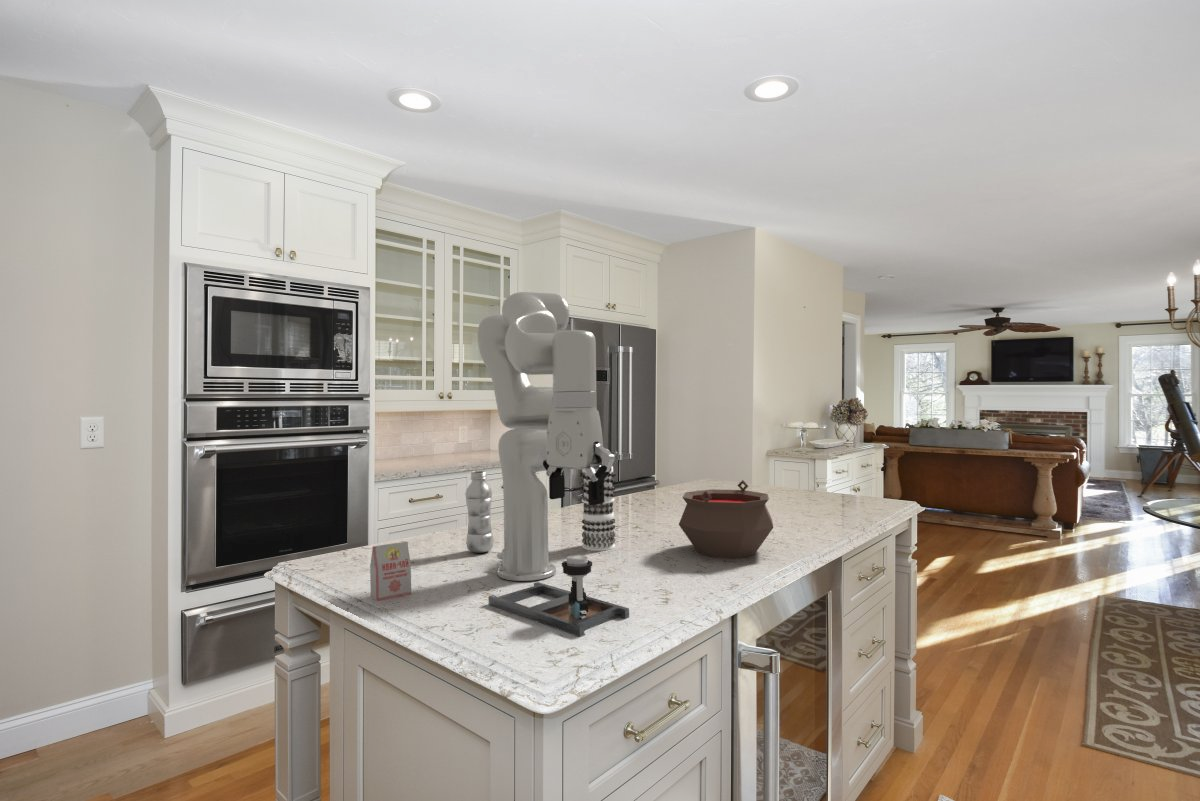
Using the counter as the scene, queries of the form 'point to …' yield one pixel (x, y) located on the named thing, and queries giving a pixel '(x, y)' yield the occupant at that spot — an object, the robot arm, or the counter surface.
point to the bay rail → (558, 609)
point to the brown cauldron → (726, 521)
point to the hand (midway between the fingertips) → (576, 501)
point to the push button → (577, 584)
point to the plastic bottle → (479, 514)
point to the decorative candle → (598, 516)
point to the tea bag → (390, 571)
